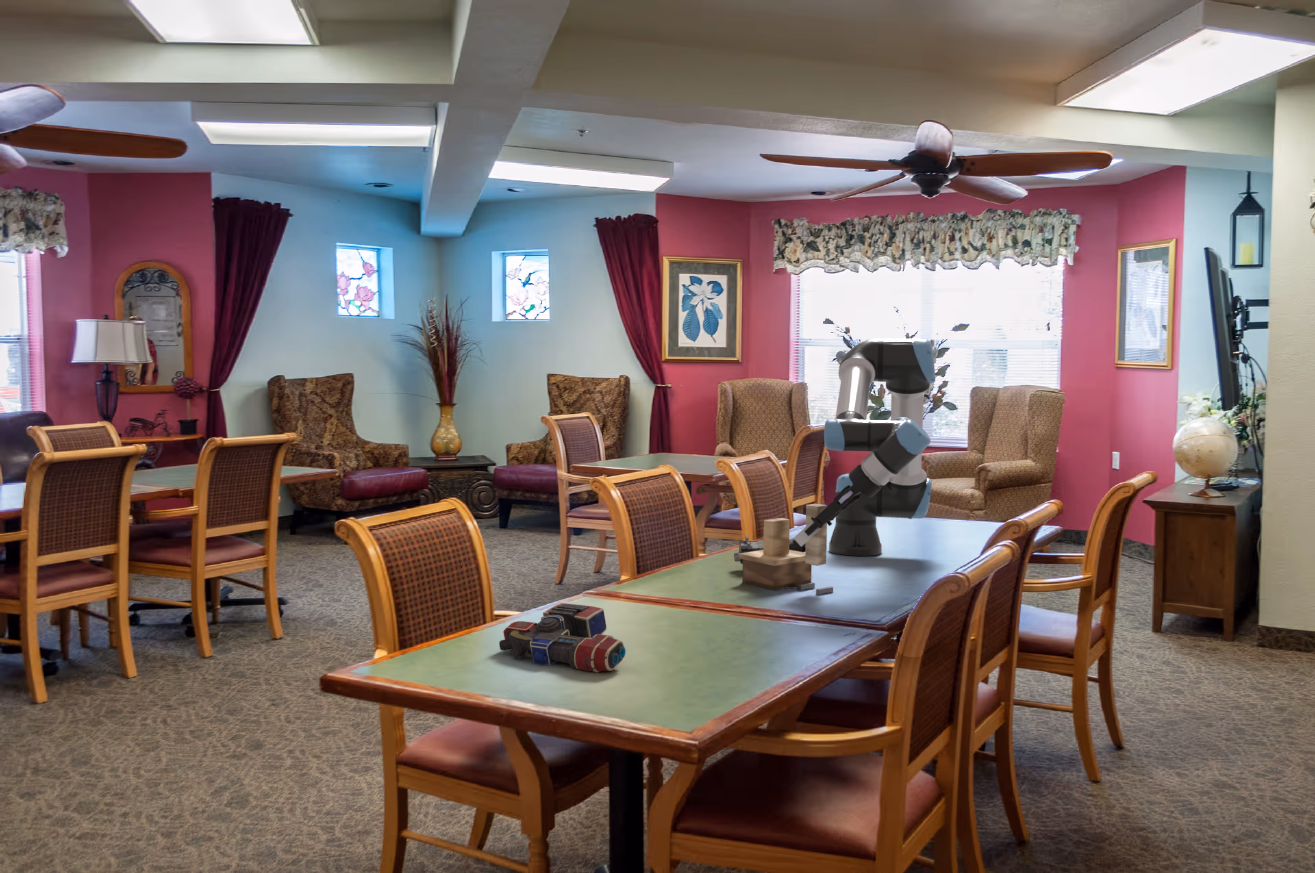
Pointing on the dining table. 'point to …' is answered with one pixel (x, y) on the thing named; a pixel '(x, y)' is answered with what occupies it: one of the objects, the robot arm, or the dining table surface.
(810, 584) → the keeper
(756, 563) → the open wooden box
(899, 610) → the dining table surface
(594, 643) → the multicoloured piece
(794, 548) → the toy
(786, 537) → the lid
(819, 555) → the tan block
